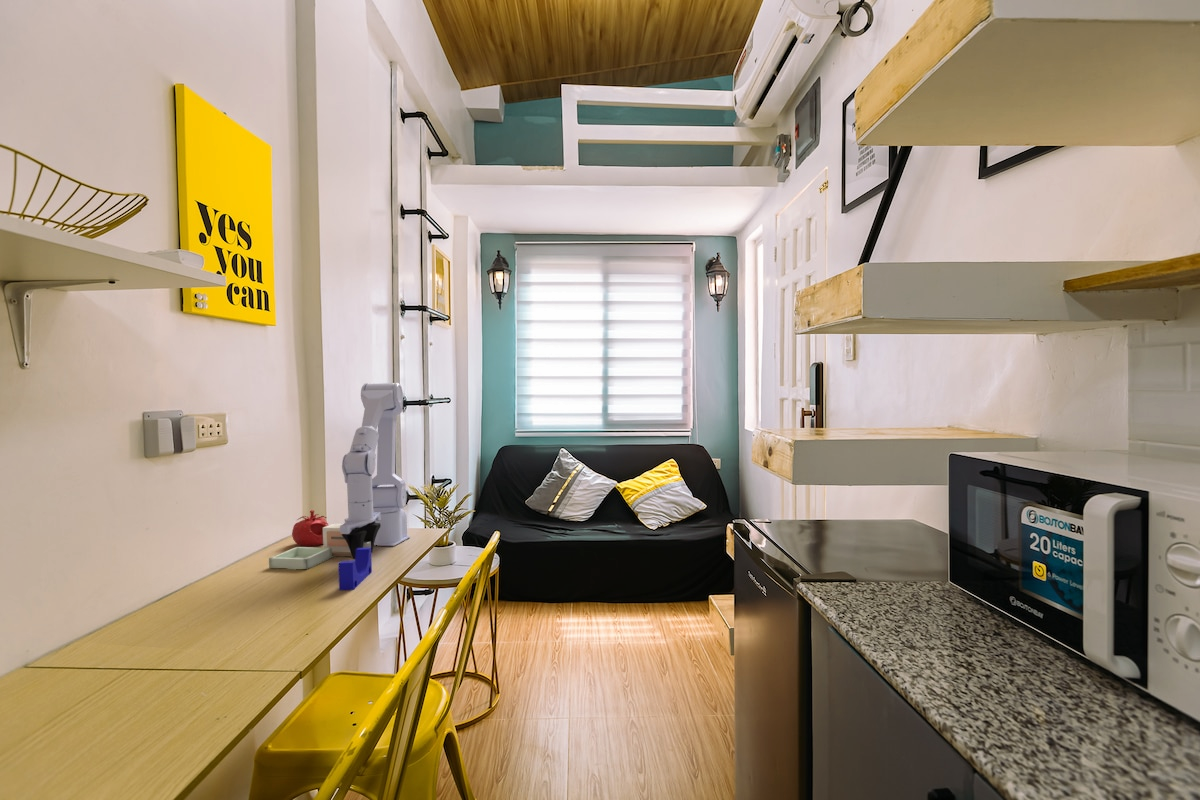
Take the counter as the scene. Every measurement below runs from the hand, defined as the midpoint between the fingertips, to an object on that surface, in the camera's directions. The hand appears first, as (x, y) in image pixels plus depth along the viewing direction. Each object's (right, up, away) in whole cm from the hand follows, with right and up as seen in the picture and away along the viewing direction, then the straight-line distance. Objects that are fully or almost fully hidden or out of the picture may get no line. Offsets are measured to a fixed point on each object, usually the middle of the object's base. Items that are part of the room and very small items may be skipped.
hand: (362, 556), depth 149 cm
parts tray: (-16, -2, +2) cm, 16 cm away
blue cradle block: (+3, -3, -13) cm, 14 cm away
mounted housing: (-8, -2, +10) cm, 13 cm away
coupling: (0, -1, 0) cm, 1 cm away
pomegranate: (-22, -2, +20) cm, 30 cm away
